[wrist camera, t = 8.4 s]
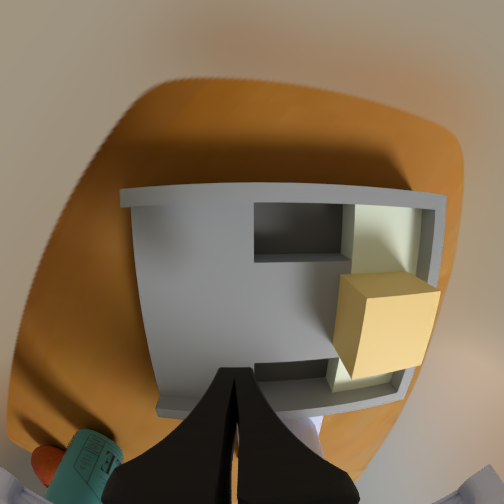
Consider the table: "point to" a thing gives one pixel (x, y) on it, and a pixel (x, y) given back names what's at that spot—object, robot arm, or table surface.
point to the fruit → (46, 462)
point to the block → (383, 322)
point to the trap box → (270, 284)
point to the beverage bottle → (84, 469)
